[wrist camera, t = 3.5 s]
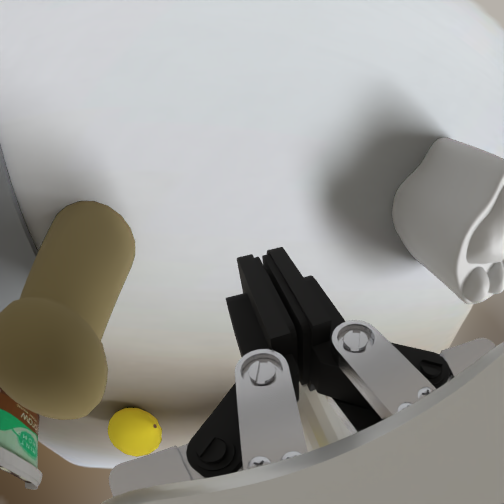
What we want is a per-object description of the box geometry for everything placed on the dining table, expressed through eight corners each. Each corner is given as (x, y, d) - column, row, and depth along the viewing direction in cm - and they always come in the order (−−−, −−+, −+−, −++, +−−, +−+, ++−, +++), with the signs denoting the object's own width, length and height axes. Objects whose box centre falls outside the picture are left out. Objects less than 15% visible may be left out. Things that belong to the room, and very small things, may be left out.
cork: (50, 193, 14) (-56, 316, 4) (142, 209, 16) (112, 363, 7) (50, 277, 16) (-4, 416, 7) (130, 293, 18) (119, 446, 9)
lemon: (137, 423, 27) (135, 463, 23) (99, 406, 25) (93, 449, 20) (176, 411, 26) (177, 457, 21) (135, 392, 23) (131, 443, 19)
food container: (66, 428, 25) (62, 496, 17) (34, 427, 24) (28, 489, 16) (3, 369, 19) (-18, 450, 10) (-25, 371, 18) (-46, 441, 9)
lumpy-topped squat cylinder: (448, 121, 18) (535, 151, 10) (482, 212, 24) (539, 250, 17) (377, 210, 20) (460, 272, 13) (429, 282, 26) (481, 333, 19)
